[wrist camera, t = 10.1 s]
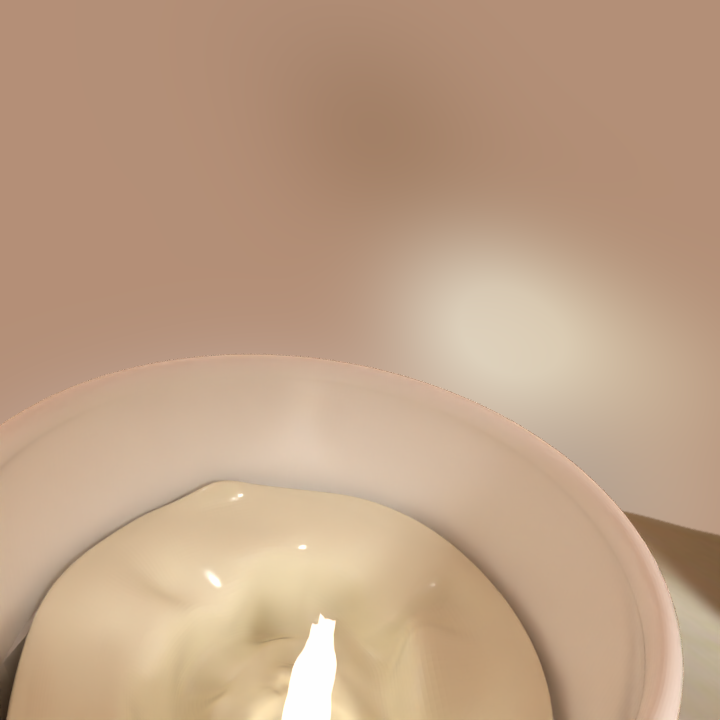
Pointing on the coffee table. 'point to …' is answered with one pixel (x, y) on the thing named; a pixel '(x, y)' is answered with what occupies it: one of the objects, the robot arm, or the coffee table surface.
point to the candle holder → (315, 556)
